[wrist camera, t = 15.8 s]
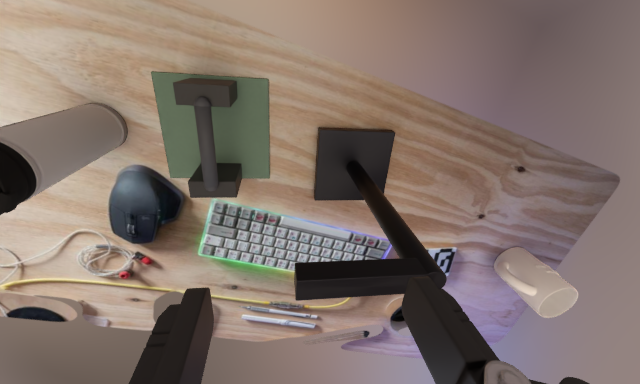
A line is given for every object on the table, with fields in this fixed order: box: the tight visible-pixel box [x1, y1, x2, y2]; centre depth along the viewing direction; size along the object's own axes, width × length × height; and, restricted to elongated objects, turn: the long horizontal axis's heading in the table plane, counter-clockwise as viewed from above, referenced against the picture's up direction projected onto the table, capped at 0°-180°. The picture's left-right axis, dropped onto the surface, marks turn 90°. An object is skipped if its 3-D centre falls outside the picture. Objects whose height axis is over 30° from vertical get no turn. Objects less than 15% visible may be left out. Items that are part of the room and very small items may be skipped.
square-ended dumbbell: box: [173, 78, 242, 198], centre depth 37 cm, size 14×6×8 cm, turn 176°
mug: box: [494, 247, 578, 318], centre depth 56 cm, size 8×12×12 cm
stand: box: [294, 127, 446, 300], centre depth 34 cm, size 12×17×27 cm
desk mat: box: [151, 72, 270, 178], centre depth 40 cm, size 15×15×1 cm
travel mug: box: [0, 103, 127, 215], centre depth 29 cm, size 6×7×20 cm
